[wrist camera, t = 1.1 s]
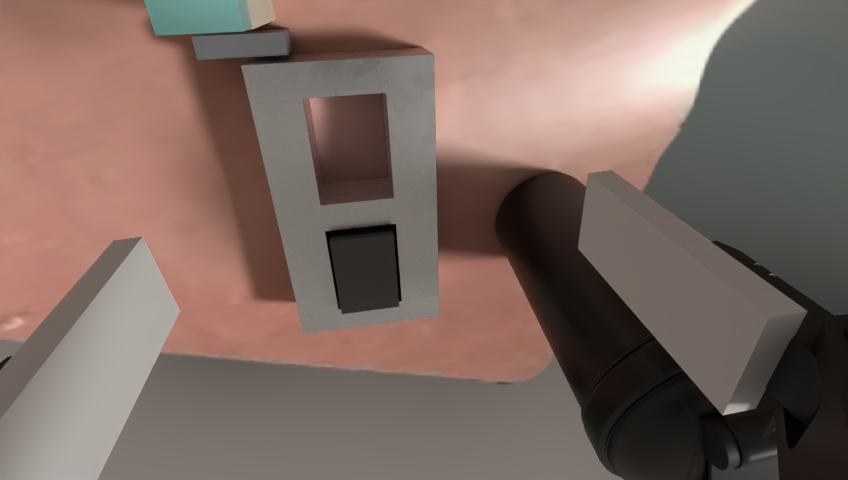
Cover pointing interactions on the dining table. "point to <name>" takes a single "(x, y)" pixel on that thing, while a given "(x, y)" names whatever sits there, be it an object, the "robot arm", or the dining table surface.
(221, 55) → the pair of grey blocks
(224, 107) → the dining table surface
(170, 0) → the plug
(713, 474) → the water bottle
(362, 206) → the panel
